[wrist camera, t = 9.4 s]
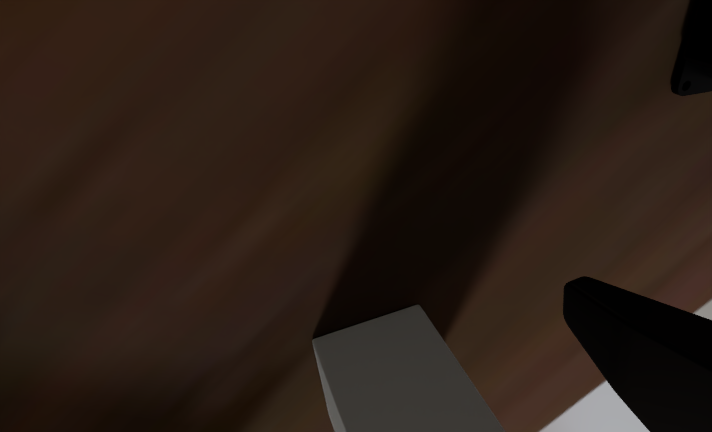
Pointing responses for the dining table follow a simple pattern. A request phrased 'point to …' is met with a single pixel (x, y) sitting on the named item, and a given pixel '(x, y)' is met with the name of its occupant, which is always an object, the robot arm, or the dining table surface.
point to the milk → (398, 379)
